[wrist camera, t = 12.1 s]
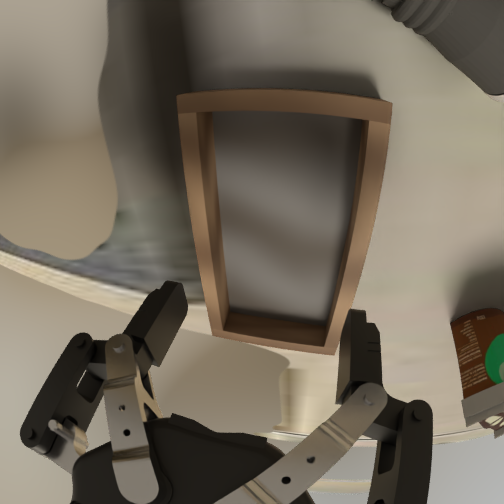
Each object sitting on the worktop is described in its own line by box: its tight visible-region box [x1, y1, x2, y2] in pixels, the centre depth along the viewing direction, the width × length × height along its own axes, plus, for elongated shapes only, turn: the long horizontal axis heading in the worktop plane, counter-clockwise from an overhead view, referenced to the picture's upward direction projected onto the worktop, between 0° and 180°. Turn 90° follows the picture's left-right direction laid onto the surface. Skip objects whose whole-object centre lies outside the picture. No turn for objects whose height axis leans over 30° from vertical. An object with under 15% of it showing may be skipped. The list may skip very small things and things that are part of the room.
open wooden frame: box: [176, 88, 392, 355], centre depth 17 cm, size 18×10×2 cm, turn 1°
